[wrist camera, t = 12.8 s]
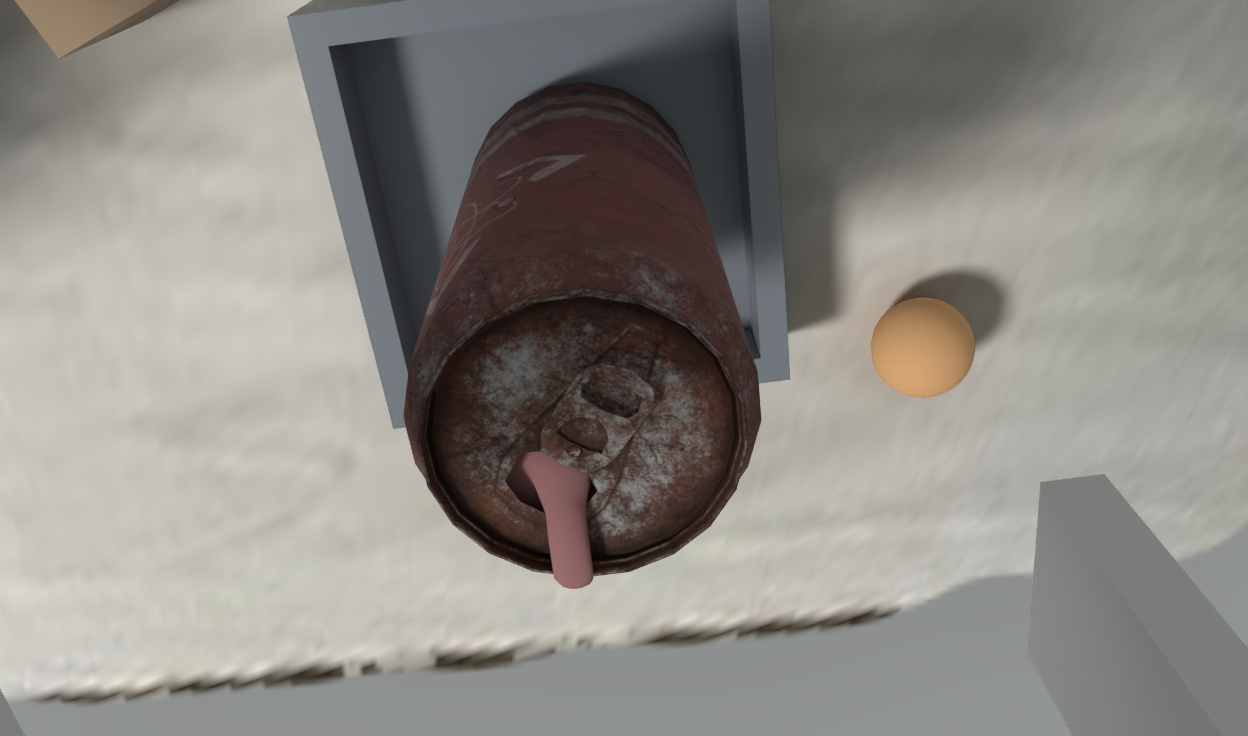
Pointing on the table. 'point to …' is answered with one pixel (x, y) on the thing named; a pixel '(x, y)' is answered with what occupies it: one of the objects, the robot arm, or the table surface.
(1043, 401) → the table surface
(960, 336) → the rubber ball
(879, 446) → the table surface
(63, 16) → the walnut block
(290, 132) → the table surface
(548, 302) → the can
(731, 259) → the tray
